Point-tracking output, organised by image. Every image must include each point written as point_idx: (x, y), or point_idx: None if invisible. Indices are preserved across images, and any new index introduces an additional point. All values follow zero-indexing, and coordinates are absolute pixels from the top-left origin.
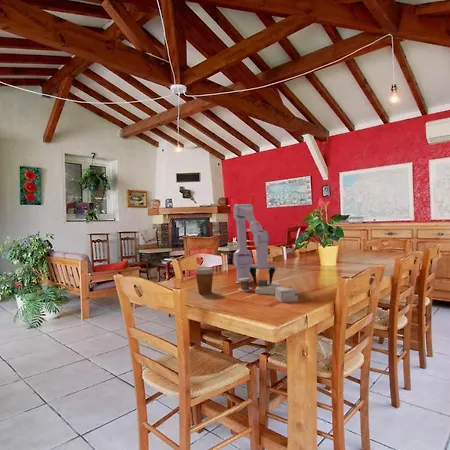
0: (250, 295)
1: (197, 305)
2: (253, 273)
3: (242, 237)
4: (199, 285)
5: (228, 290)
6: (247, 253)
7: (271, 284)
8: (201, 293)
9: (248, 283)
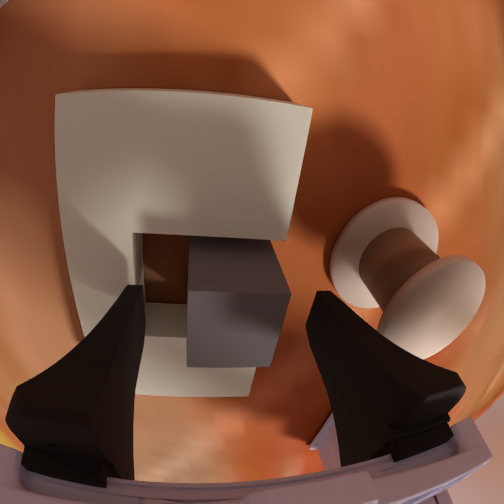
0: (340, 30)
1: None
2: (396, 365)
3: None
4: None
5: (481, 232)
6: None
7: (145, 335)
8: None
9: (388, 284)
